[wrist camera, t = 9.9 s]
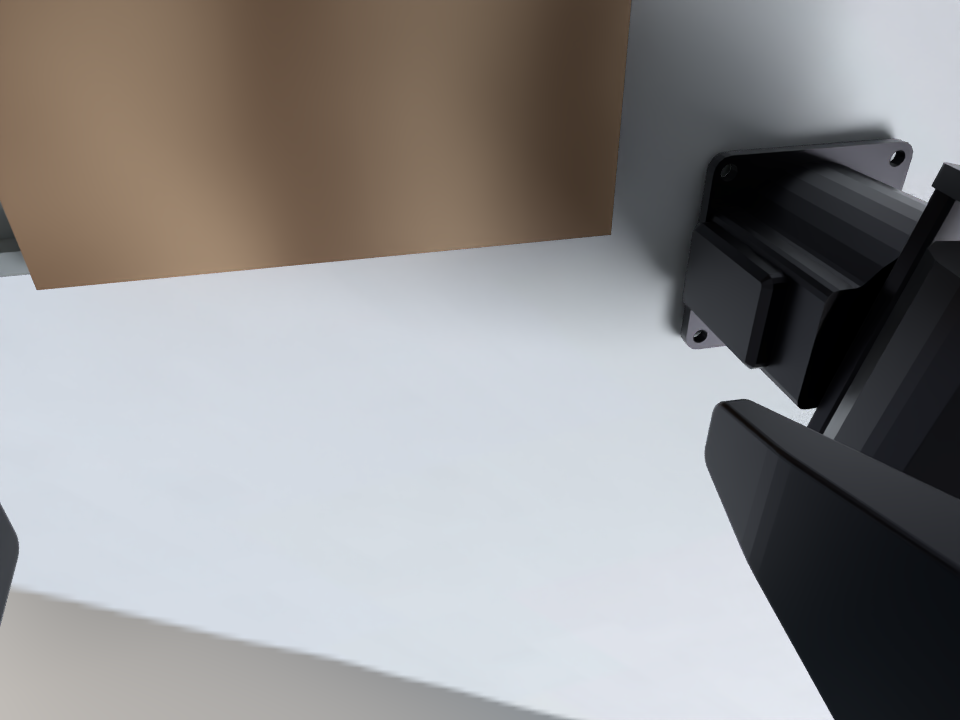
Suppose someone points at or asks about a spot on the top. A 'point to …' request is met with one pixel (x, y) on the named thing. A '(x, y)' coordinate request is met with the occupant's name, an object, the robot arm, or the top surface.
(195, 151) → the board
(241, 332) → the top surface
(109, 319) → the top surface
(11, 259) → the tray
